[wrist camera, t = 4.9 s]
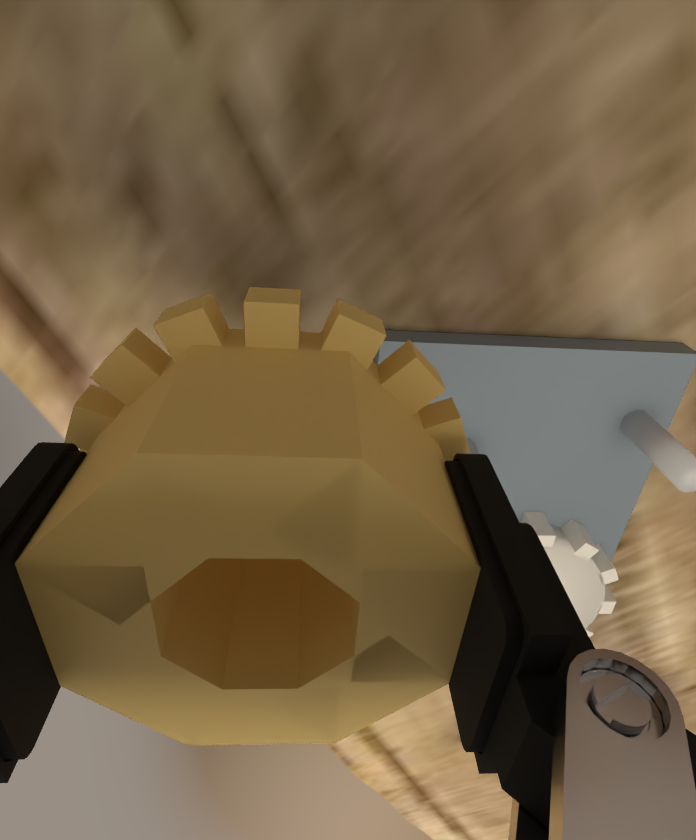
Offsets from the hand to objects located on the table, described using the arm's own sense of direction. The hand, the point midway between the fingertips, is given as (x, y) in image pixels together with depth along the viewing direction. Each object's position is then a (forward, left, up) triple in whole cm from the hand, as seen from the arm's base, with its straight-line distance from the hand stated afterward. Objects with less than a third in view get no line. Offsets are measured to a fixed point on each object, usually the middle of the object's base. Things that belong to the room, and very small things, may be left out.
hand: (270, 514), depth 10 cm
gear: (0, 0, -1) cm, 1 cm away
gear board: (+13, +12, -17) cm, 25 cm away
